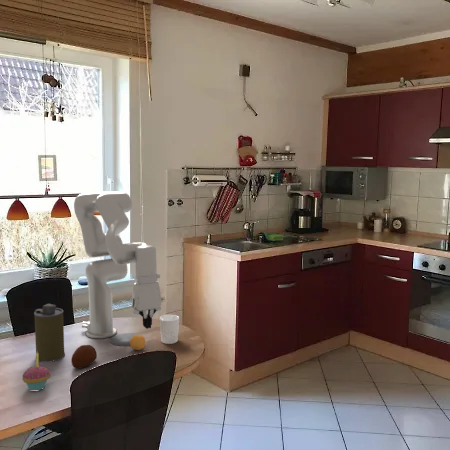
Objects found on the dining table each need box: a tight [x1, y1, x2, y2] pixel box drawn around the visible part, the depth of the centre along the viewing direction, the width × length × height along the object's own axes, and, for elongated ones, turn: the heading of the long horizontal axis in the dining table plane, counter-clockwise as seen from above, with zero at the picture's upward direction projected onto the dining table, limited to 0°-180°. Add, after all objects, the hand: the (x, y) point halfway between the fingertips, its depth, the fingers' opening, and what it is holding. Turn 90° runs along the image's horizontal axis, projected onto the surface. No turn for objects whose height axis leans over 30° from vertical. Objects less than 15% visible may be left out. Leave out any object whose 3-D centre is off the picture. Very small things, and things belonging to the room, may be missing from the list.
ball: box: [129, 333, 146, 351], centre depth 197 cm, size 6×6×6 cm
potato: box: [71, 344, 98, 369], centre depth 181 cm, size 8×12×8 cm, turn 164°
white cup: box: [159, 314, 180, 345], centre depth 206 cm, size 8×8×10 cm
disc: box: [109, 332, 141, 347], centre depth 207 cm, size 14×14×1 cm
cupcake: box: [22, 351, 51, 391], centre depth 163 cm, size 9×8×12 cm
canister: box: [33, 303, 66, 362], centre depth 188 cm, size 11×10×20 cm
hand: (147, 327), depth 187 cm, fingers closed
